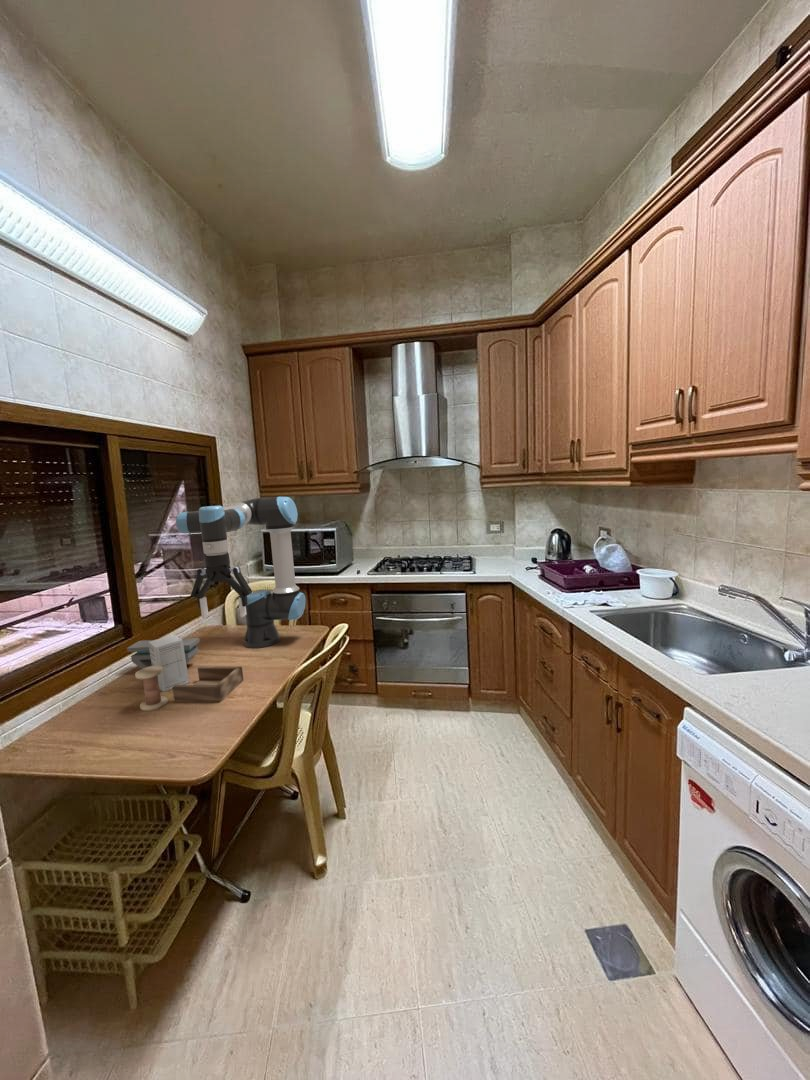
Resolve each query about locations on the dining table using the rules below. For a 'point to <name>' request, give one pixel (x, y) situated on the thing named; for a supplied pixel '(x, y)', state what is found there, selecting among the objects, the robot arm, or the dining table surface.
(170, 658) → the supplement box
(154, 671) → the bobbin post
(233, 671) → the open wooden tray
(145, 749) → the dining table surface
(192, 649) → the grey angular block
